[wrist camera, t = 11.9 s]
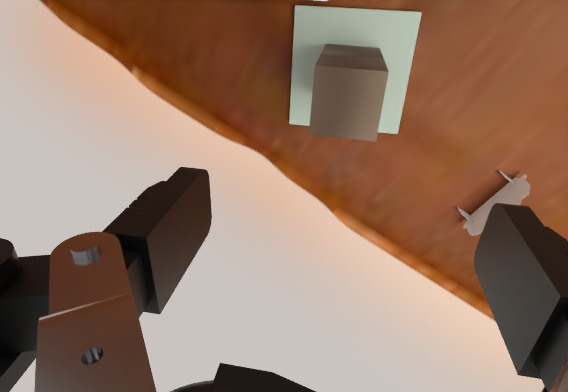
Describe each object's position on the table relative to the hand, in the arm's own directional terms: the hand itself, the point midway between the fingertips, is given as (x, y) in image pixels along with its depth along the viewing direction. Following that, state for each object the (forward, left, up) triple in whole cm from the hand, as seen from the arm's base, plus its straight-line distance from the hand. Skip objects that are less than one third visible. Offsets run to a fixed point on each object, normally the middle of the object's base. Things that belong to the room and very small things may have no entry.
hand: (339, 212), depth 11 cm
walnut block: (0, 0, -21) cm, 21 cm away
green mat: (0, 0, -22) cm, 22 cm away
